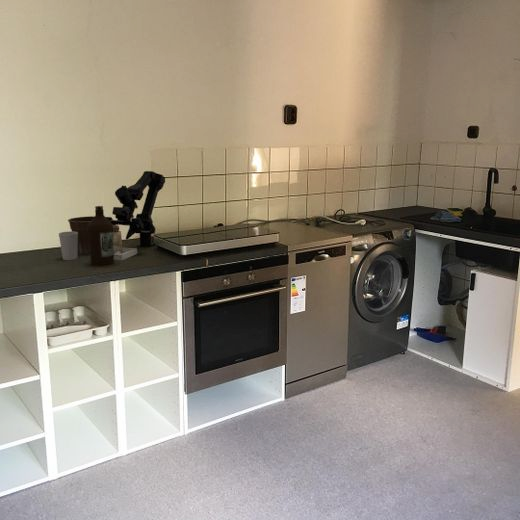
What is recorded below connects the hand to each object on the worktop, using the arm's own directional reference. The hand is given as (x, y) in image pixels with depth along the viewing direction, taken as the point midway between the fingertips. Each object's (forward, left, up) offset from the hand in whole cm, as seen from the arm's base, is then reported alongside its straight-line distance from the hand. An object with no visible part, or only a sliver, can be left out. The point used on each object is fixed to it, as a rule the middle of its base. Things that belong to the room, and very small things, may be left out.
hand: (117, 238), depth 261 cm
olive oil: (+15, +1, -9) cm, 17 cm away
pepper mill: (0, 0, -8) cm, 8 cm away
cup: (+10, -18, -9) cm, 22 cm away
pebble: (+4, +3, -8) cm, 9 cm away
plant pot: (-5, -18, -9) cm, 21 cm away
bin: (0, 0, -9) cm, 9 cm away
